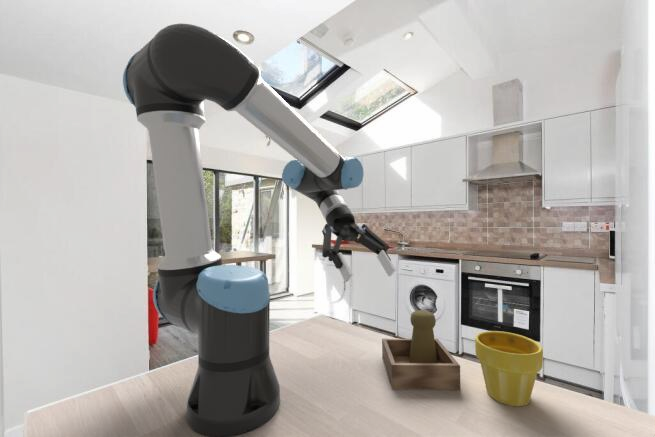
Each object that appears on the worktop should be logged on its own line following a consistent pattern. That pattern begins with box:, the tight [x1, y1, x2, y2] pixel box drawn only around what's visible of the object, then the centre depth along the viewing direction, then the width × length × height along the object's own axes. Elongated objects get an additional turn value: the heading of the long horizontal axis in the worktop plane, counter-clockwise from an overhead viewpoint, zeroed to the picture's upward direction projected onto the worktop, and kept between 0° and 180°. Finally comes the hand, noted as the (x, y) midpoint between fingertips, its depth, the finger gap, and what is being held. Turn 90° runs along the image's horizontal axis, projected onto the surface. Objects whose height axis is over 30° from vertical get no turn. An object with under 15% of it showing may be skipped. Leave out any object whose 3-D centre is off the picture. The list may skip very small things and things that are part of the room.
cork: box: [409, 309, 438, 363], centre depth 65 cm, size 6×6×11 cm
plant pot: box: [474, 330, 544, 407], centre depth 54 cm, size 10×10×10 cm
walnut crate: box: [381, 338, 461, 391], centre depth 62 cm, size 13×13×4 cm
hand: (371, 275), depth 73 cm, fingers open, 13 cm apart
